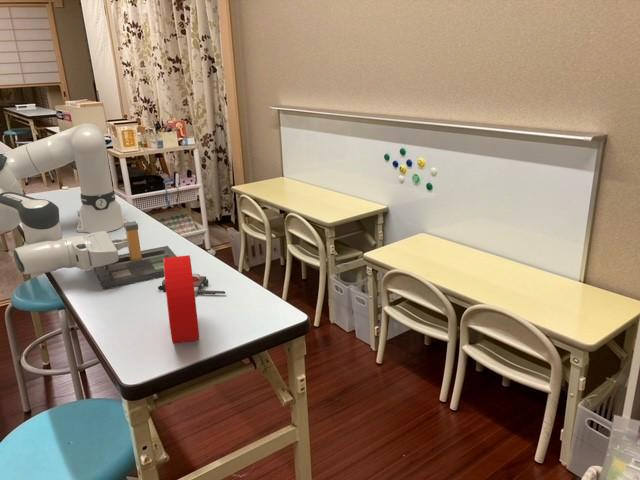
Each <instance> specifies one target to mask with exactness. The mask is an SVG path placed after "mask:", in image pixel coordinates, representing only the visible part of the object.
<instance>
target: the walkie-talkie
mask: <svg viewBox="0 0 640 480" xmlns="http://www.w3.org/2000/svg"><path fill="white" fill-rule="evenodd" d="M192 275H193V284H194V292H195V297H198V295H216V294H217V295H218V294H220V295H225V294H226V291H225V290H208V289H207V290H204V288H205V287H208V286H209V279H208V278H207V276H205V275H200V274H199V273H192ZM157 291H163V292H165V293H166V287H165V278H164V279H163V280H162V281H161V285H159V286H157Z"/></svg>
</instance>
